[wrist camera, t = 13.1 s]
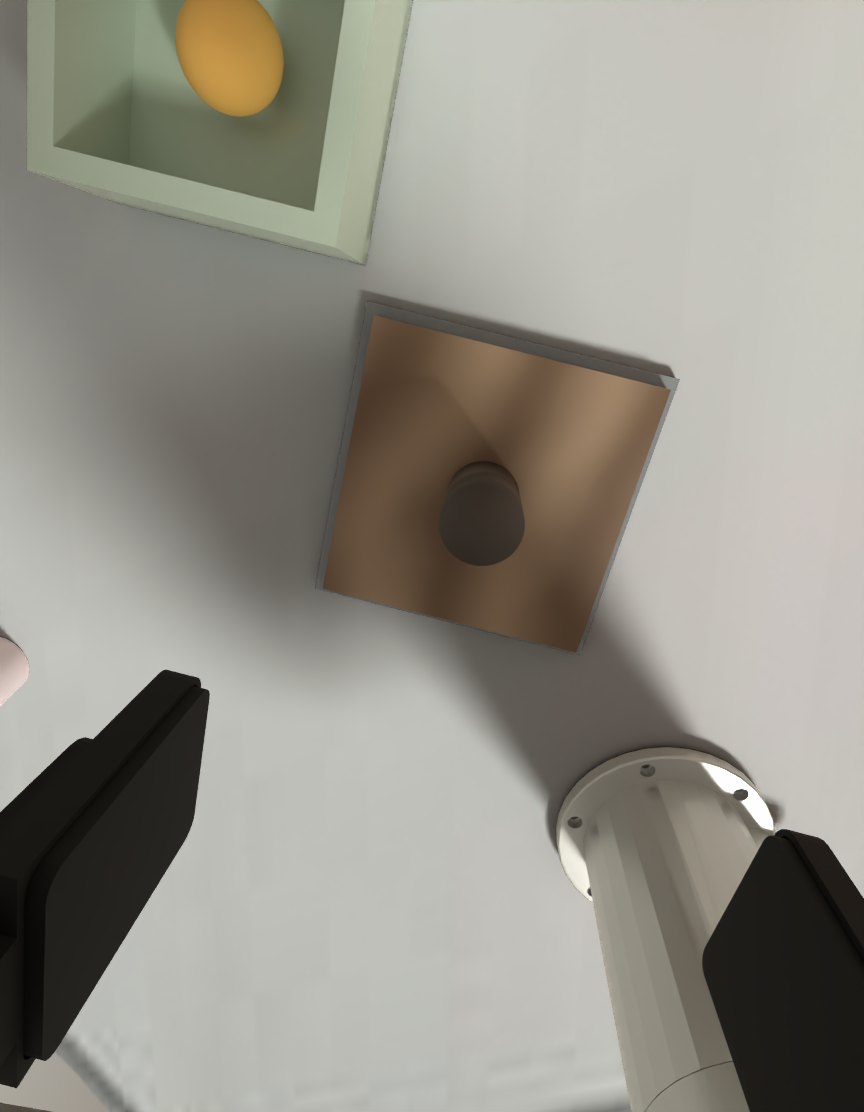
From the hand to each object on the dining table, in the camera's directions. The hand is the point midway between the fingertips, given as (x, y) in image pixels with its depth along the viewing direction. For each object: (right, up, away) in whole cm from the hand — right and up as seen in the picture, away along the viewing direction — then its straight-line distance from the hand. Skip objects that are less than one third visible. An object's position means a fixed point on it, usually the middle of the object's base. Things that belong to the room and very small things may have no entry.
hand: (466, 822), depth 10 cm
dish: (-8, +25, +17) cm, 31 cm away
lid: (+2, +8, +21) cm, 23 cm away
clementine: (-8, +24, +14) cm, 29 cm away
